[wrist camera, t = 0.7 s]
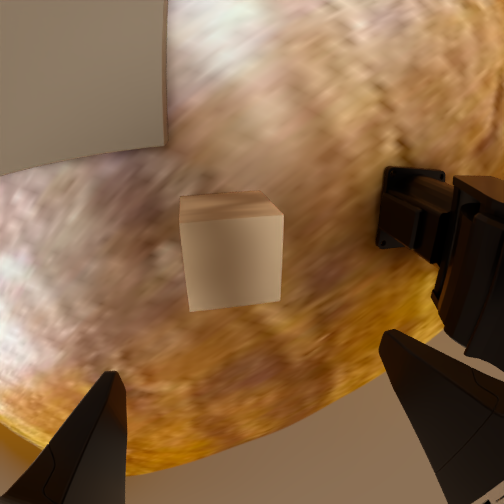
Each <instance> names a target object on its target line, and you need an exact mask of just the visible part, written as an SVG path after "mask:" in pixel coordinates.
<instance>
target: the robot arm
mask: <svg viewBox="0 0 504 504" xmlns="http://www.w3.org/2000/svg"><path fill="white" fill-rule="evenodd" d="M391 171H393V173H392V175H391ZM453 185H454V186H451V185H449V184H446V183H445V173H444V172H443V171H441V170H434V169H424V168H412V167H398V166H388V167H387V168H386V170H385V175H384V185H383V194H382V201H381V208H380V216H379V223H378V231H377V237H376V246H378V247H379V248H380V249H388V248H396V247H405V246H406V247H407V248H408V249H410V250H412V251H414V252H415V253H417V254H418V255H419V256H421V257H422V258H423V259H425V260H426V261H428V262H429V263H430V264H433V265H434V266H436V267H437V268H438V269H439V272H438V276H437V280H436V284H435V287H434V289H433V290H432V294H431V299H432V300H433V302H434V304H435V306H436V308H437V310H438V314H439V316H440V318H441V320H442V322H443V324H444V325H445V326H444V331H445V332H446V334H447V335H448V336H449V337H450V338H452V339H453V340H454V341H455V342H457V343H458V344H460V345H461V346H463V347H465V348H466V349H465V351H464V355H465V356H468V357H473V358H479V359H481V360H484V361H487V362H489V363H491V364H492V365H494V366H496V367H497V368H499V369H500V370H502V371H503V372H504V180H501V179H498V178H495V177H491V176H453ZM382 241H383V243H382V244H381V242H382ZM379 354H380V357H381V359H382V362H383V364H384V367H385V369H386V372H387V374H388V377H389V379H390V382H391V384H392V387H393V389H394V391H395V392H396V395H397V397H398V398H399V401H400V402H401V404H402V406H403V408H404V410H405V412H406V414H407V416H408V418H409V420H410V422H411V424H412V426H413V428H414V430H415V432H416V434H417V436H418V438H419V440H420V443H421V445H422V447H423V449H424V450H425V453H426V455H427V457H428V459H429V462H430V464H431V466H432V468H433V470H434V472H435V475H436V477H437V479H438V482H439V484H440V486H441V488H442V491H443V493H444V495H445V497H446V500H447V502H448V504H471V503H473V502H474V501H476V500H477V499H479V498H480V497H482V496H483V495H485V494H486V496H487V498H488V499H487V500H486V501H485V502H483V503H482V504H504V382H503V381H500V380H498V379H495V378H493V377H491V376H489V375H486V374H484V373H482V372H480V371H478V370H476V369H474V368H471V367H470V366H468V365H466V364H464V363H462V362H460V361H458V360H456V359H454V358H452V357H450V356H448V355H445V354H444V353H442V352H440V351H438V350H436V349H434V348H432V347H430V346H428V345H426V344H424V343H422V342H420V341H418V340H416V339H414V338H412V337H410V336H408V335H406V334H404V333H402V332H400V331H398V330H396V329H392V330H388V331H385V332H384V333H383V336H382V339H381V343H380V346H379ZM126 449H127V412H126V390H125V386H124V384H123V382H122V380H121V378H120V376H119V374H118V372H117V371H105V372H104V373H103V374H102V375H101V376H100V378H99V379H98V380H97V381H96V383H95V384H94V385H93V386H92V388H91V389H90V390H89V391H88V393H87V394H86V395H85V396H84V398H83V399H82V400H81V401H80V403H79V404H78V405H77V407H76V408H75V409H74V410H73V412H72V413H71V414H70V416H69V417H68V418H67V419H66V421H65V422H64V423H63V425H62V426H61V427H60V428H59V430H58V431H57V432H56V434H55V435H54V436H53V438H52V439H51V440H50V442H49V444H47V445H46V447H45V448H44V450H43V451H42V452H41V453H40V455H39V456H38V457H37V458H36V460H35V461H34V462H33V463H32V464H31V466H30V467H29V468H28V469H27V470H26V471H25V472H24V474H22V476H21V477H20V478H19V479H18V480H17V481H16V482H15V483H14V484H13V485H12V487H10V488H9V490H8V491H7V492H6V493H5V494H3V495H2V496H0V504H125V471H126Z"/></svg>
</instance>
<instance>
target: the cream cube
mask: <svg viewBox="0 0 504 504" xmlns="http://www.w3.org/2000/svg"><path fill="white" fill-rule="evenodd" d="M179 228H180V237H181V247H182V256H183V264H184V272H185V280H186V288H187V295H188V302H189V309H190V312H193V311H203V310H212V309H221V308H229V307H238V306H246V305H254V304H261V303H269V302H276V301H280V296H281V276H282V253H283V228H284V215H283V214H282V212H281V211H280V210H279V209H278V208H277V207H276V206H275V205H274V204H273V203H272V202H271V201H270V200H269V199H268V198H267V197H266V196H265V195H264V194H263V193H262V192H261V191H245V192H229V193H215V194H203V195H191V196H180V212H179Z"/></svg>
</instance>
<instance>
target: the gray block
mask: <svg viewBox="0 0 504 504" xmlns="http://www.w3.org/2000/svg"><path fill="white" fill-rule="evenodd" d="M167 14H168V0H0V176H2V175H6V174H9V173H13V172H17V171H21V170H25V169H29V168H33V167H37V166H42V165H46V164H51V163H55V162H60V161H65V160H70V159H76V158H81V157H86V156H92V155H98V154H104V153H111V152H118V151H125V150H132V149H140V148H149V147H158V146H164V145H165V144H166V143H167V142H168V123H167V85H166V49H167Z"/></svg>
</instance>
